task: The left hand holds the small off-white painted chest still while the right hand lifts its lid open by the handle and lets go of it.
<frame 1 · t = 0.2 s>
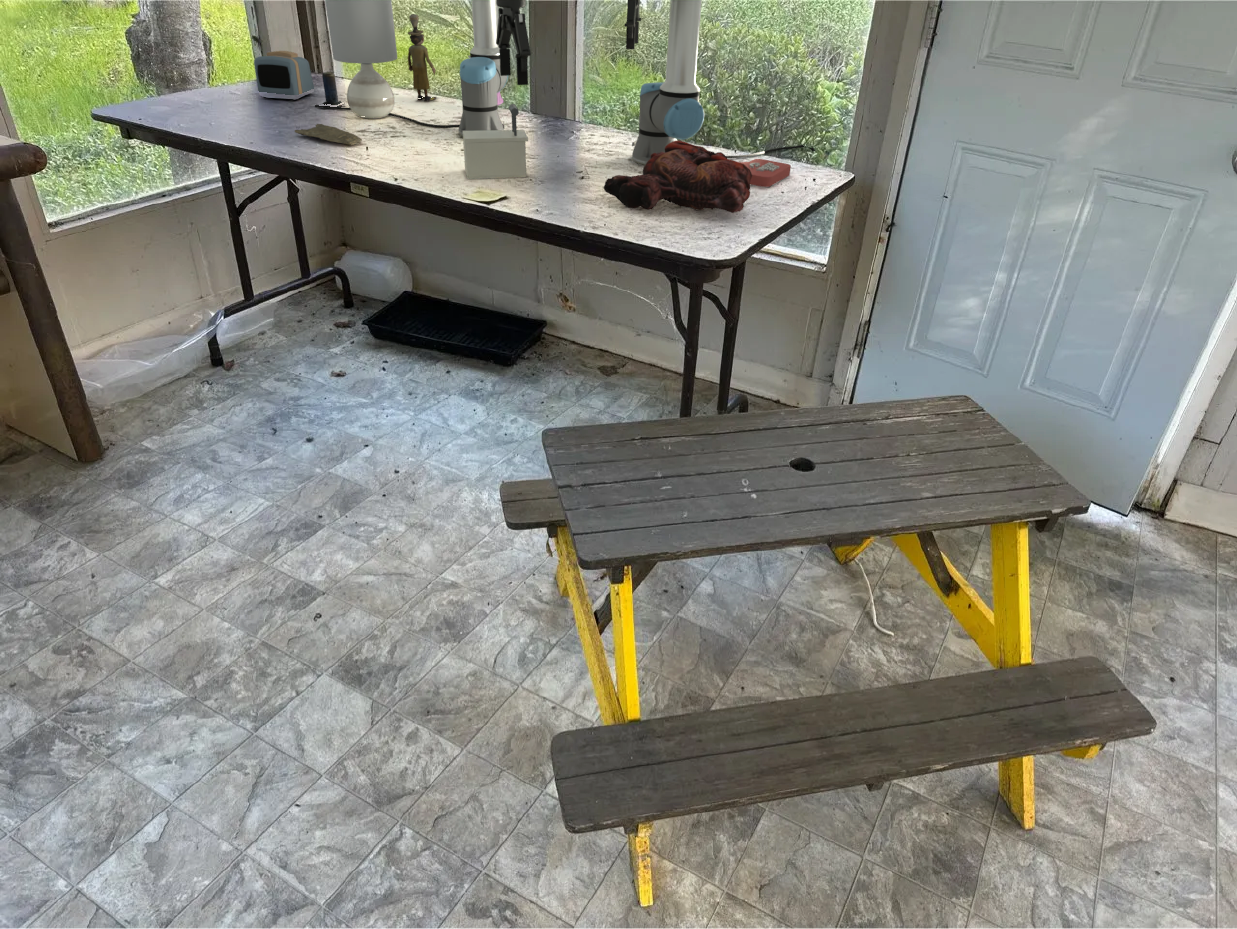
left hand: (632, 46, 280), 28 cm above the table, tool pointing down, fingers open, 13 cm apart
right hand: (513, 80, 226), 28 cm above the table, tool pointing down, fingers open, 13 cm apart
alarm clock: (287, 96, 330), on the table
chest: (495, 173, 251), on the table
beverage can: (332, 107, 318), on the table
figurine: (424, 100, 332), on the table
lid: (494, 122, 243), point 14 cm above the table, hinge at 0.0°
sculpture: (676, 205, 231), on the table
lamp: (372, 116, 307), on the table
plaque: (756, 178, 255), on the table
stone tool: (331, 139, 278), on the table
toy character: (487, 110, 321), on the table
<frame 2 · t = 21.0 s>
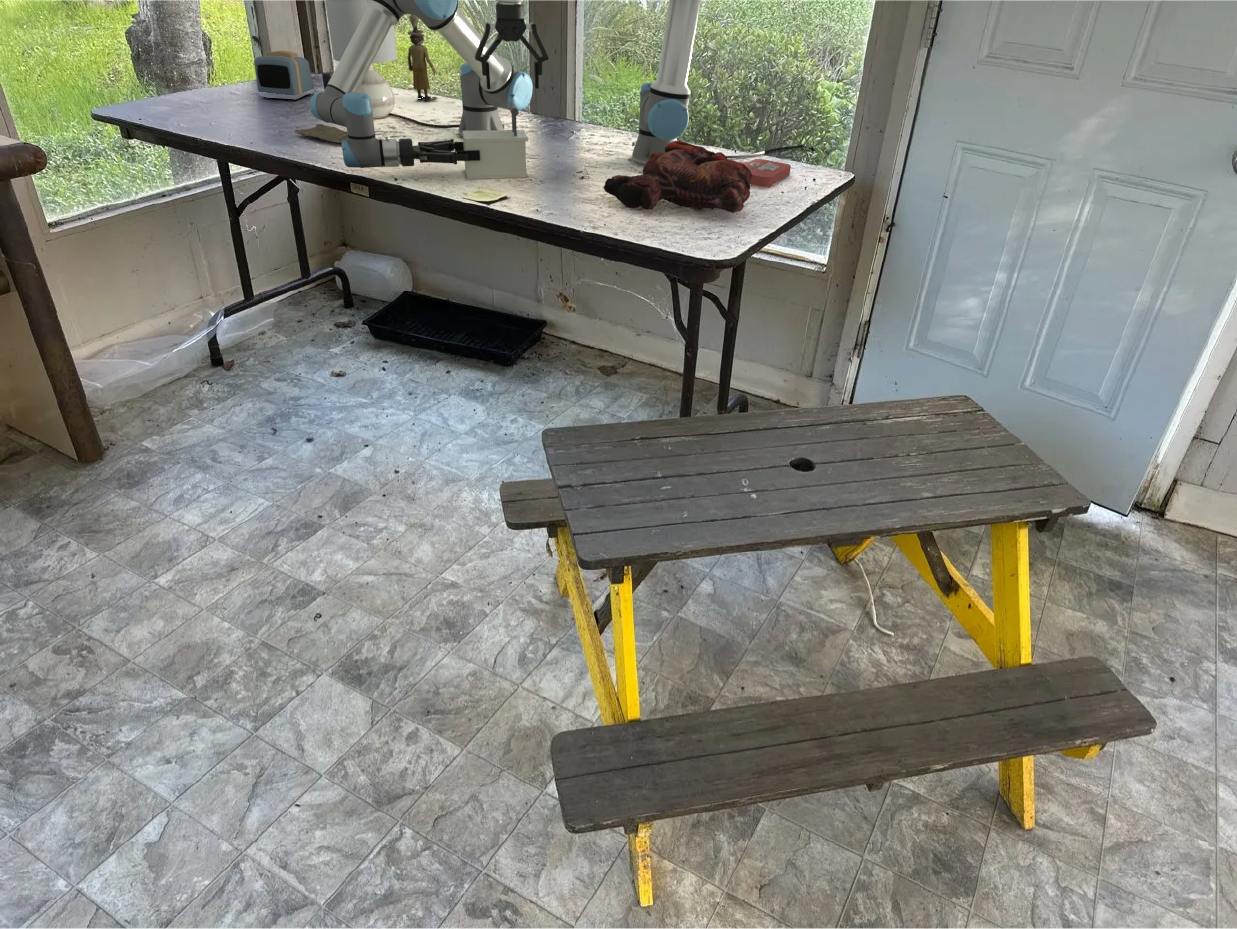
left hand: (478, 150, 246), 7 cm above the table, tool horizontal, fingers closed on chest, 9 cm apart
right hand: (512, 88, 239), 24 cm above the table, tool pointing down, fingers open, 13 cm apart
chest: (495, 173, 251), on the table, touching left hand
everything else where it was.
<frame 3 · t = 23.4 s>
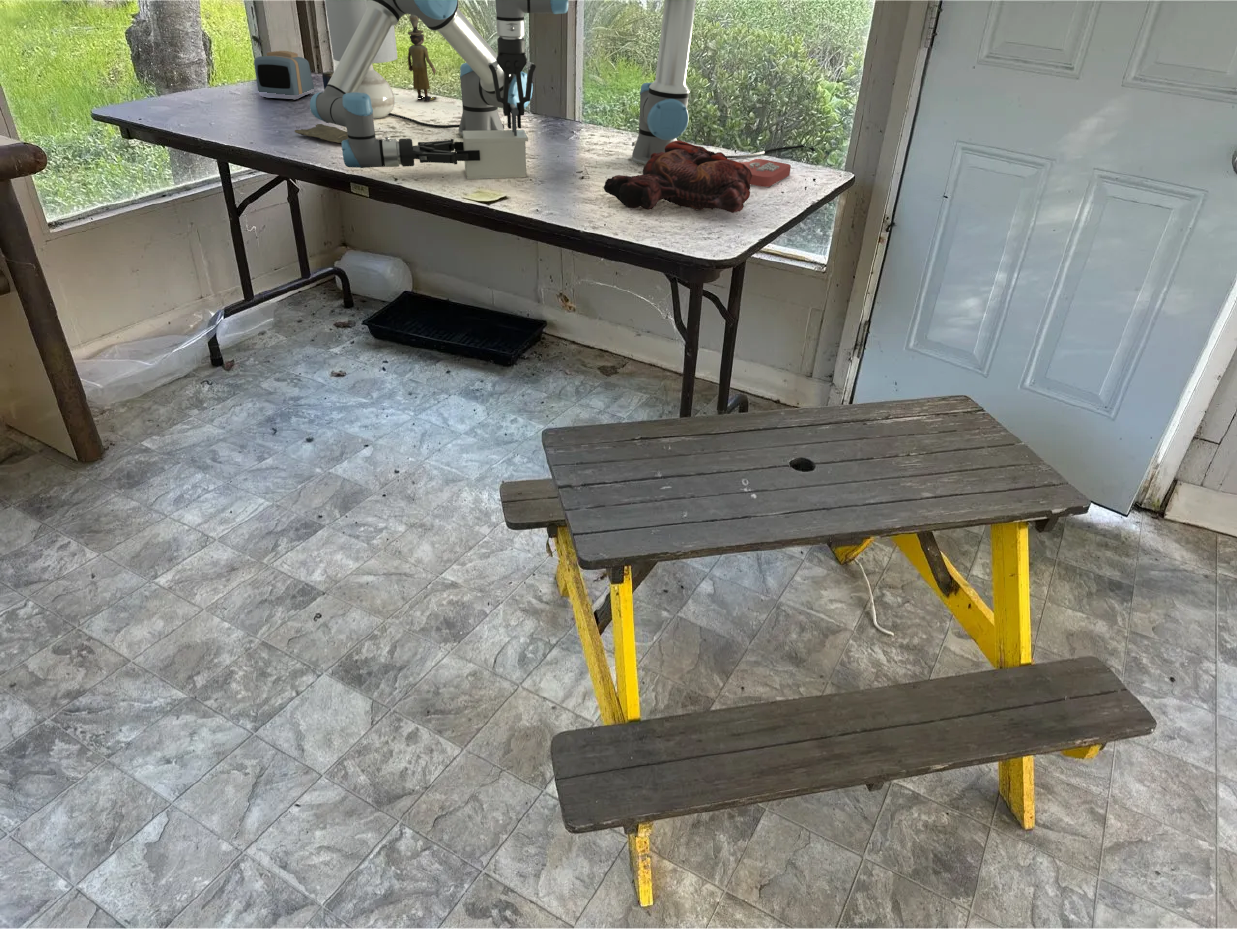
left hand: (478, 150, 246), 7 cm above the table, tool horizontal, fingers closed on chest, 9 cm apart
right hand: (514, 127, 245), 13 cm above the table, tool pointing down, fingers closed on lid, 2 cm apart
chest: (495, 173, 251), on the table, touching left hand
lid: (494, 122, 243), point 14 cm above the table, hinge at -0.1°, touching right hand
everything else where it was.
when the left hand's fingers open (7 cm above the table, at t = 31.2 s): chest stays where it is, on the table.
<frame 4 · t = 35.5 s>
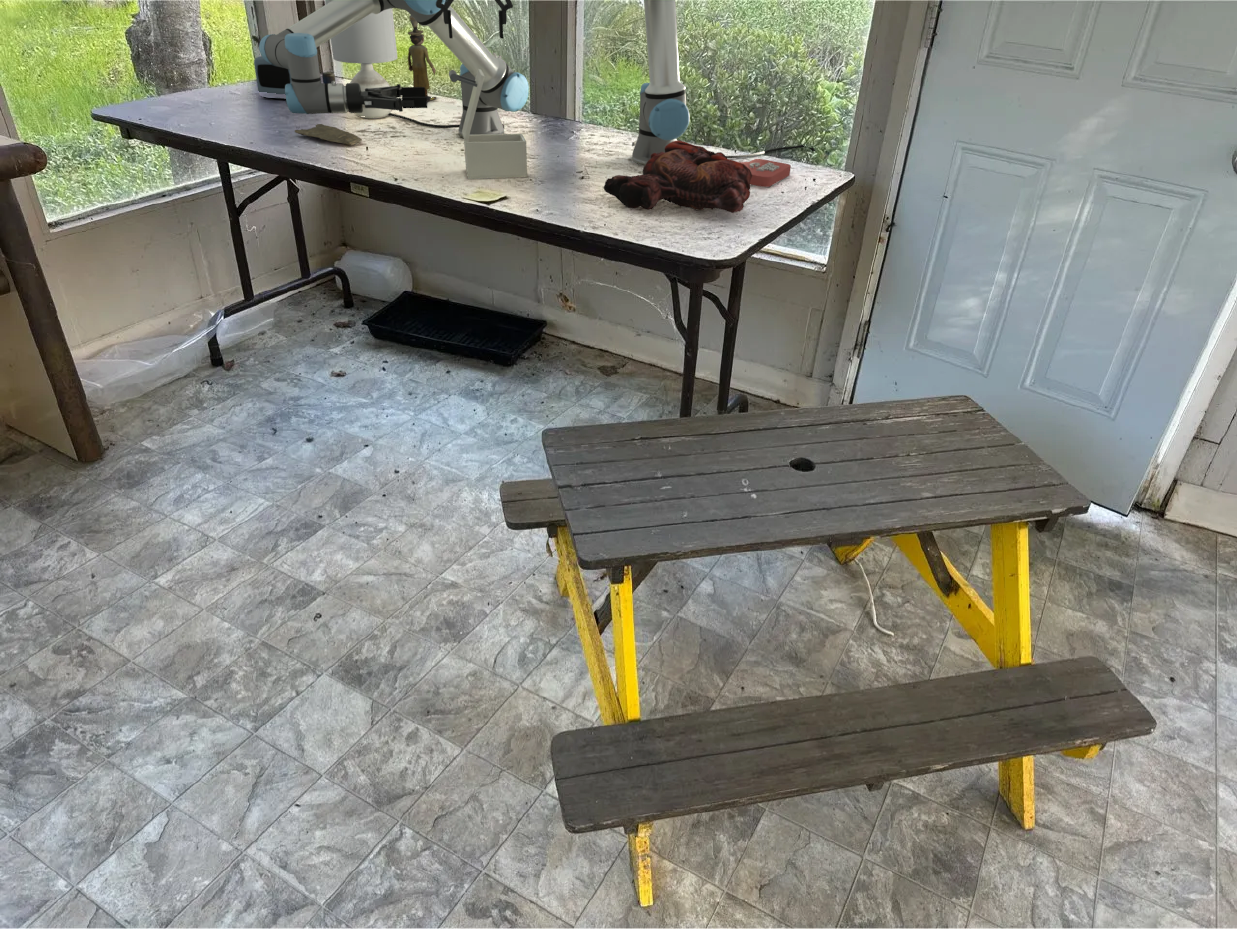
left hand: (426, 97, 235), 21 cm above the table, tool horizontal, fingers open, 13 cm apart
right hand: (476, 37, 230), 36 cm above the table, tool pointing down, fingers open, 13 cm apart
chest: (496, 173, 251), on the table
lid: (459, 100, 238), point 20 cm above the table, hinge at 71.3°
everything else where it was.
at the end: lid at +71° (first picture: +0°); the left hand is holding nothing; the right hand is holding nothing; chest tilted 0°; chest never tilted more than 3° during the clip; chest moved 0.2 cm from its start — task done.
